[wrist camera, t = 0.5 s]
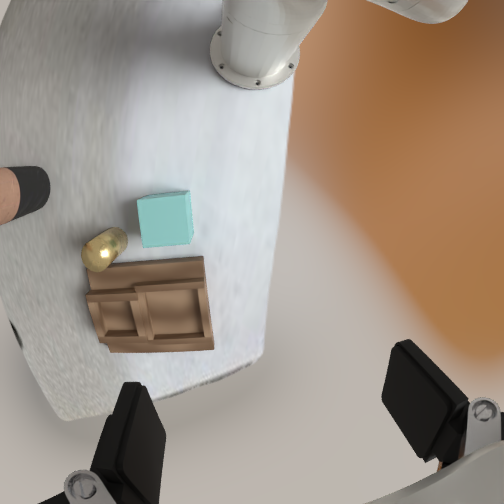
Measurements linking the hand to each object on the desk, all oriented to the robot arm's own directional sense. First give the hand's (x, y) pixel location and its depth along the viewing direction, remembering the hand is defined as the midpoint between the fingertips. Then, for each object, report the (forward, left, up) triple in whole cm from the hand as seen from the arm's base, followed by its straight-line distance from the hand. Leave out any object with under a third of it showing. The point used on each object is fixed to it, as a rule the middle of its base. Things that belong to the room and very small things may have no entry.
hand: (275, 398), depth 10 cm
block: (-2, -9, -33) cm, 34 cm away
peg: (+1, -18, -33) cm, 37 cm away
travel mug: (-9, -32, -33) cm, 47 cm away
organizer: (+12, -14, -33) cm, 38 cm away
